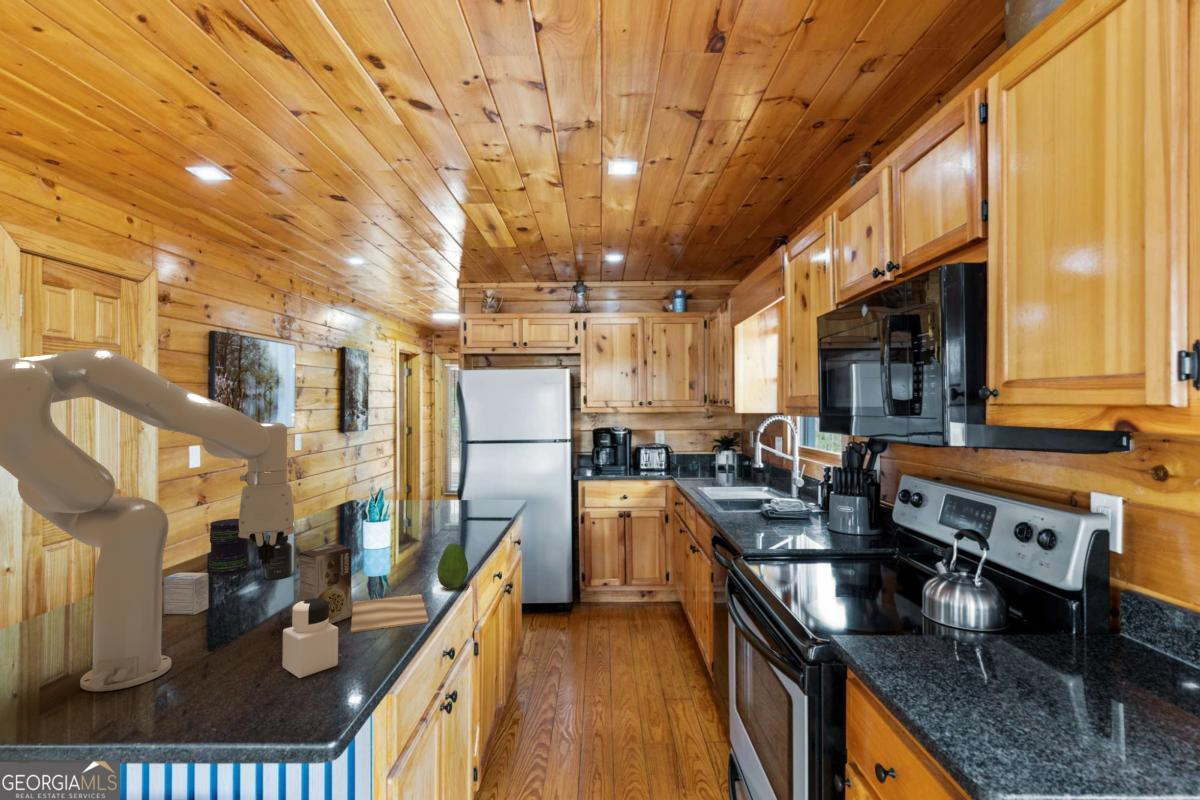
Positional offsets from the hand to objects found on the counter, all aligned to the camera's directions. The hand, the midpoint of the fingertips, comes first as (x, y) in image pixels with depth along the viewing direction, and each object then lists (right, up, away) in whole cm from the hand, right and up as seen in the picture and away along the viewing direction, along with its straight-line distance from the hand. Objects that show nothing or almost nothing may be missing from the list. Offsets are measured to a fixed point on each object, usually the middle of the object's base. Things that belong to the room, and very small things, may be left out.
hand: (267, 562), depth 127 cm
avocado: (+34, -15, +28) cm, 46 cm away
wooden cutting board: (+23, -14, +9) cm, 29 cm away
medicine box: (-25, -15, +10) cm, 31 cm away
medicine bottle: (+19, -14, -20) cm, 31 cm away
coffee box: (+11, -15, +4) cm, 19 cm away
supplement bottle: (-19, -15, +39) cm, 46 cm away
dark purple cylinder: (-36, -15, +43) cm, 58 cm away
